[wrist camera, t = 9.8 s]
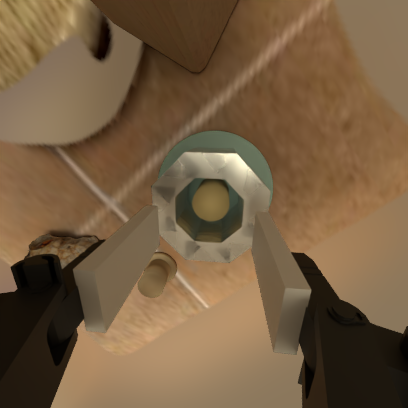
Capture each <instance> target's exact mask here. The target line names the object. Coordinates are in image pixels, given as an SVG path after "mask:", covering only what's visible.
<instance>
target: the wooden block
mask: <svg viewBox="0 0 408 408" xmlns="http://www.w3.org/2000/svg"><path fill="white" fill-rule="evenodd" d="M91 1H92V2H93V3H94V4H95V5H96V6H97V7H98V8H99V9H100V10H101V11H102V12H103V13H104V14H105V15H106V16H107V17H108V18H109V19H110V20H111V21H112V22H113V23H114V24H116V25H117V26H119V27H121V28H122V29H124V30H125V31H127V32H129V33H130V34H132V35H134V36H135V37H137V38H138V39H140V40H142V41H143V42H145V43H146V44H148V45H150V46H151V47H153V48H154V49H156V50H158V51H159V52H161V53H162V54H164V55H166V56H167V57H169V58H170V59H172V60H174V61H175V62H177V63H178V64H180V65H182V66H183V67H185V68H186V69H188V70H190V71H191V72H200V71H201V70H202V69H204V68H205V67H206V65H207V63H208V61H209V59H210V57H211V55H212V52H213V50H214V48H215V46H216V44H217V42H218V40H219V38H220V36H221V34H222V32H223V30H224V27H225V25H226V23H227V21H228V19H229V17H230V15H231V13H232V11H233V9H234V7H235V5H236V2H237V0H91Z"/></svg>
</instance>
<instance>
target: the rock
mask: <svg viewBox="0 0 408 408" xmlns="http://www.w3.org/2000/svg"><path fill="white" fill-rule="evenodd" d="M96 242H98V239H97V238H96V237H95V236H92V237H90V238H88V237H81V238H78V239H73V238H71V237H65V238H64V237H56V236H55V237H53V236H51V235H50V234H47V235H43V236H40V237H39V238H37V239H36V240H35V241H32V243H31V244H30V245H29V249H30V250H28V251H29V253H28V255H27V256H26V257H25V258H24V259H26V258H29V257H32V256H35V255H40V254H55V255H58V257H59V259H60V263H61V267H62V269H63V268H64V267H65V266H66V265H68V264H69V263H70V262H71V261H73V260H74V259H75V258H76V257H78V256H79V255H80V254H81V253H82V252H85V250H86V249H87V248H89V247H90V246H91V245H92V244H94V243H96Z"/></svg>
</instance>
